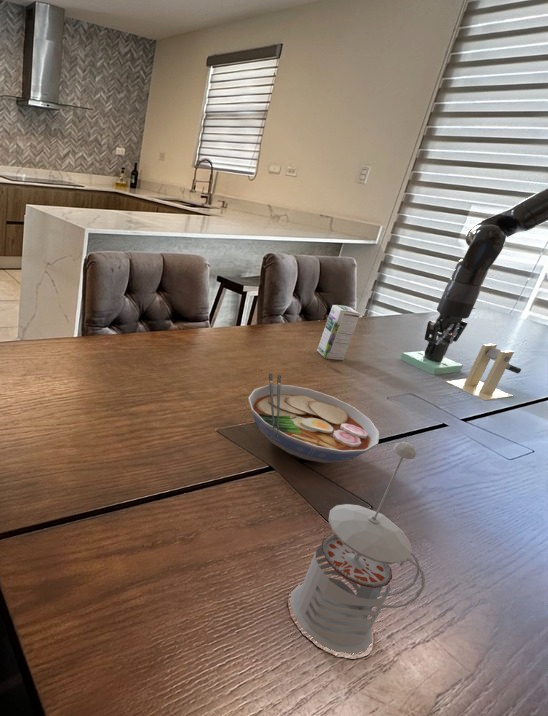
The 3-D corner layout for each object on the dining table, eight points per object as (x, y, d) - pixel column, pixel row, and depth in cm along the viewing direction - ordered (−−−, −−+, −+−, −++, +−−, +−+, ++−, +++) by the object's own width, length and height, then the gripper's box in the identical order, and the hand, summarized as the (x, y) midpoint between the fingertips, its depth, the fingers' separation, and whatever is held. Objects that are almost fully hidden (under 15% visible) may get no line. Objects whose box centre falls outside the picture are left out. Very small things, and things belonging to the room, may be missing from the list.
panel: (425, 359, 142) (429, 350, 141) (458, 374, 134) (463, 364, 133) (398, 362, 138) (402, 352, 137) (431, 377, 130) (436, 367, 128)
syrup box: (316, 350, 139) (331, 304, 133) (335, 352, 139) (351, 306, 133) (324, 358, 133) (340, 310, 128) (344, 361, 134) (361, 313, 128)
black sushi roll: (430, 355, 137) (438, 336, 135) (445, 361, 134) (453, 343, 132) (420, 355, 136) (428, 337, 134) (435, 362, 132) (443, 343, 130)
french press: (283, 572, 61) (345, 408, 52) (380, 603, 59) (464, 435, 49) (289, 641, 53) (364, 458, 43) (403, 680, 50) (511, 495, 40)
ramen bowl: (377, 508, 75) (395, 467, 72) (233, 464, 82) (244, 425, 79) (356, 431, 97) (369, 397, 94) (244, 402, 104) (253, 368, 101)
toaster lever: (496, 367, 127) (502, 360, 127) (517, 375, 123) (523, 368, 123) (479, 352, 121) (485, 344, 121) (500, 360, 117) (507, 352, 117)
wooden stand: (471, 381, 130) (491, 339, 125) (511, 399, 122) (534, 355, 117) (443, 385, 126) (463, 341, 121) (482, 404, 117) (506, 357, 112)
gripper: (456, 303, 122) (430, 362, 128) (489, 302, 127) (463, 359, 134) (428, 294, 128) (405, 350, 135) (461, 293, 134) (437, 348, 140)
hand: (434, 354), depth 134 cm, fingers closed on black sushi roll, 4 cm apart
